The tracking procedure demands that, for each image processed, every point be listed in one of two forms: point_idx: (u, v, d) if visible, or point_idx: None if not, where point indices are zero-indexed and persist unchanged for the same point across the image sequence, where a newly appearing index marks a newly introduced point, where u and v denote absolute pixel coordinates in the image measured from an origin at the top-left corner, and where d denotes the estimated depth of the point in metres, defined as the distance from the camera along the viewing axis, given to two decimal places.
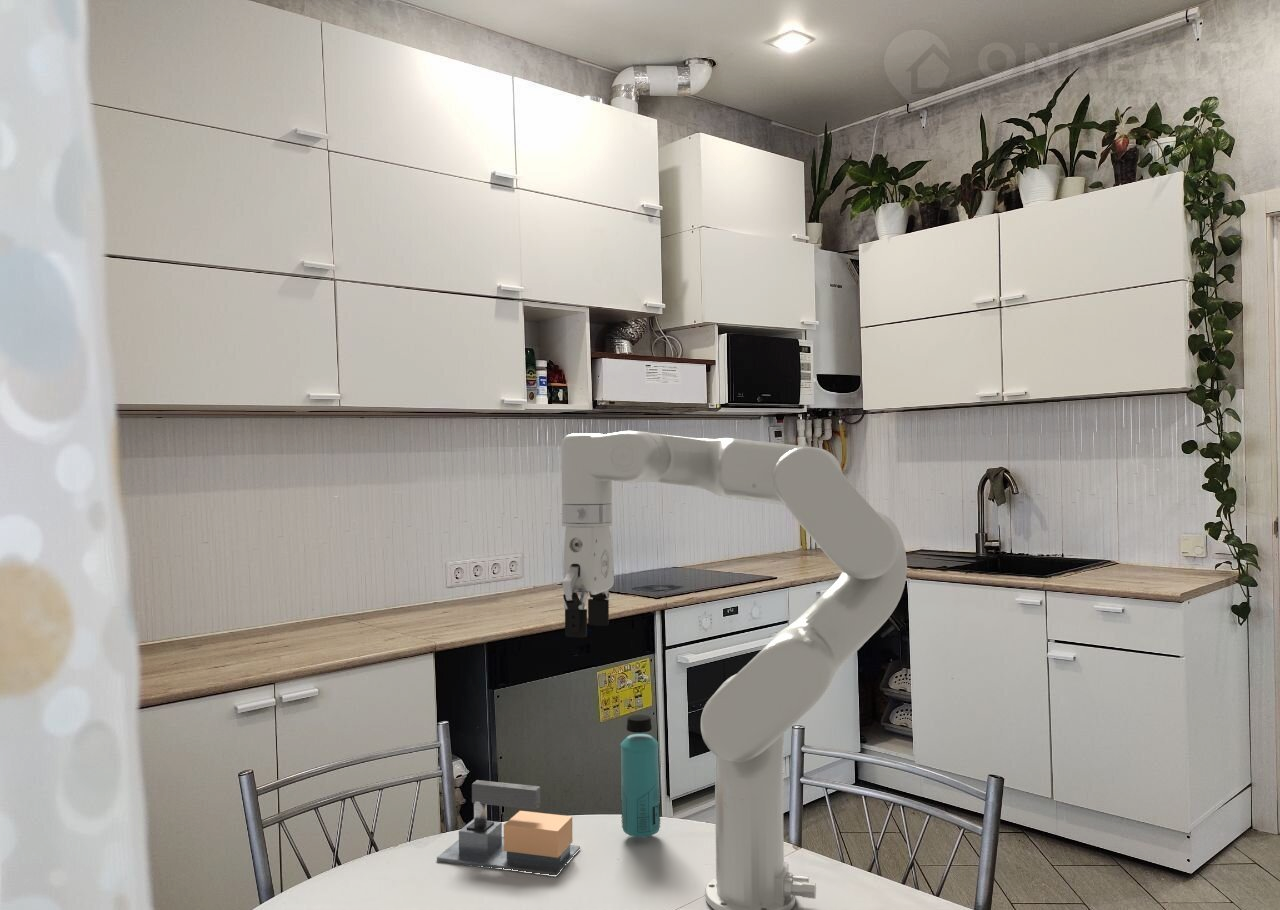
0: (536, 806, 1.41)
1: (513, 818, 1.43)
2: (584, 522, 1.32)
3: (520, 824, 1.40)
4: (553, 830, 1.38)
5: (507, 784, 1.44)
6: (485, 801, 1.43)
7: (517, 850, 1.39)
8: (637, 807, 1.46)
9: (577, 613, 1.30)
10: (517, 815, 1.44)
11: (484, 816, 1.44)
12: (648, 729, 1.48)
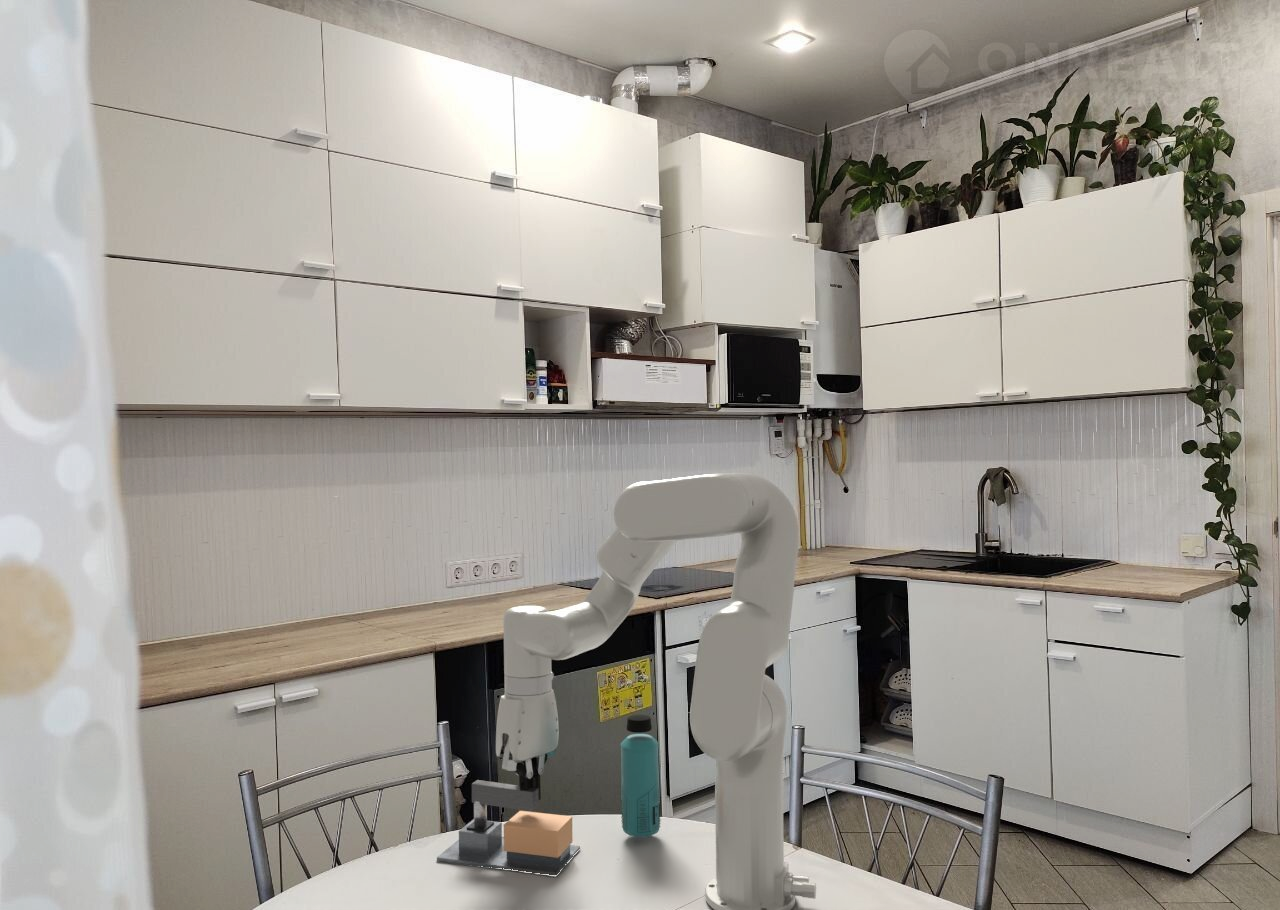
0: (533, 808, 1.40)
1: (513, 818, 1.43)
2: None
3: (520, 824, 1.40)
4: (553, 830, 1.38)
5: (506, 785, 1.43)
6: (484, 801, 1.43)
7: (517, 850, 1.39)
8: (637, 807, 1.46)
9: None
10: (517, 815, 1.44)
11: (484, 816, 1.44)
12: (648, 729, 1.48)
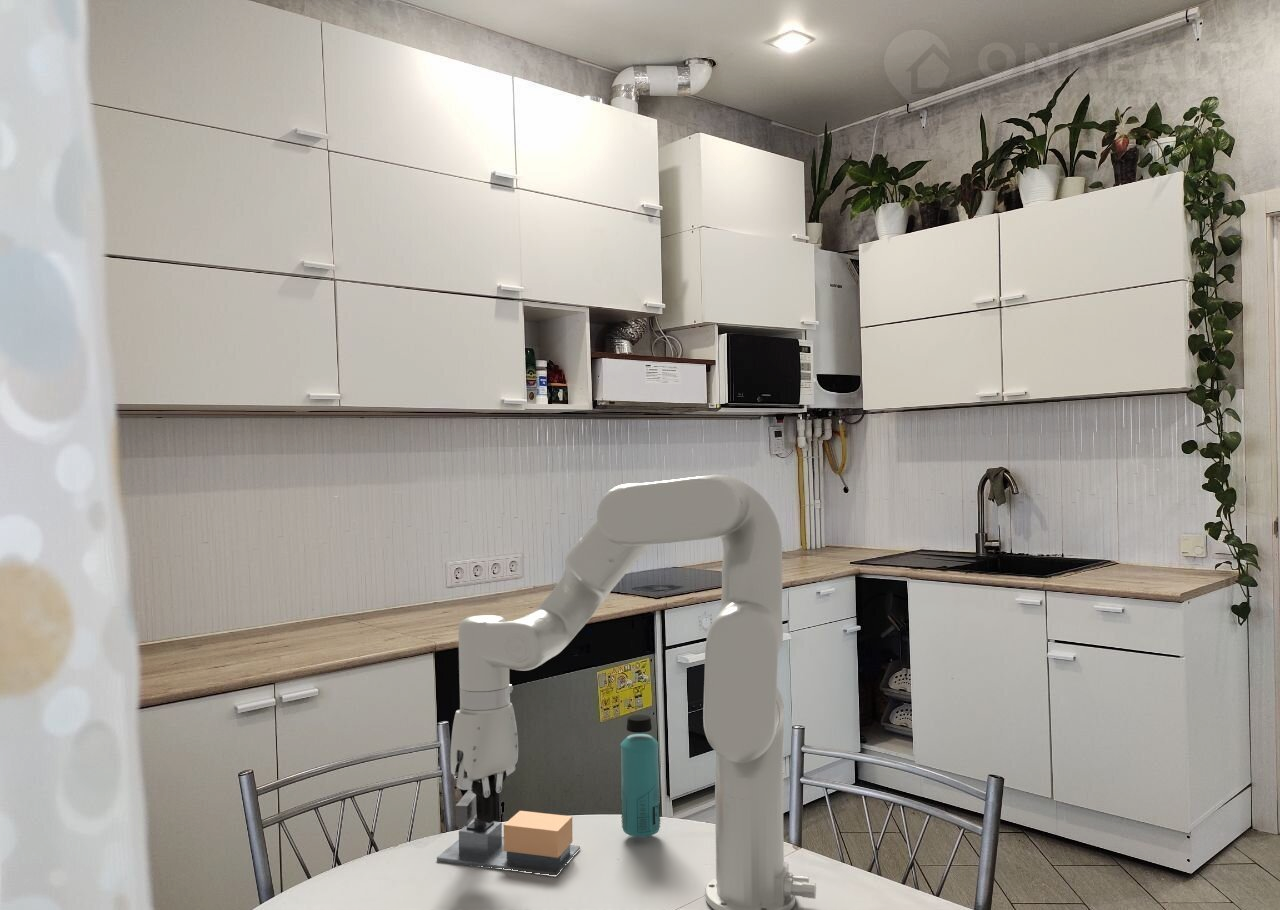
0: (456, 822, 1.35)
1: (513, 818, 1.43)
2: None
3: (520, 824, 1.40)
4: (553, 830, 1.38)
5: None
6: None
7: (517, 850, 1.39)
8: (637, 807, 1.46)
9: None
10: (517, 815, 1.44)
11: (476, 817, 1.44)
12: (648, 729, 1.48)
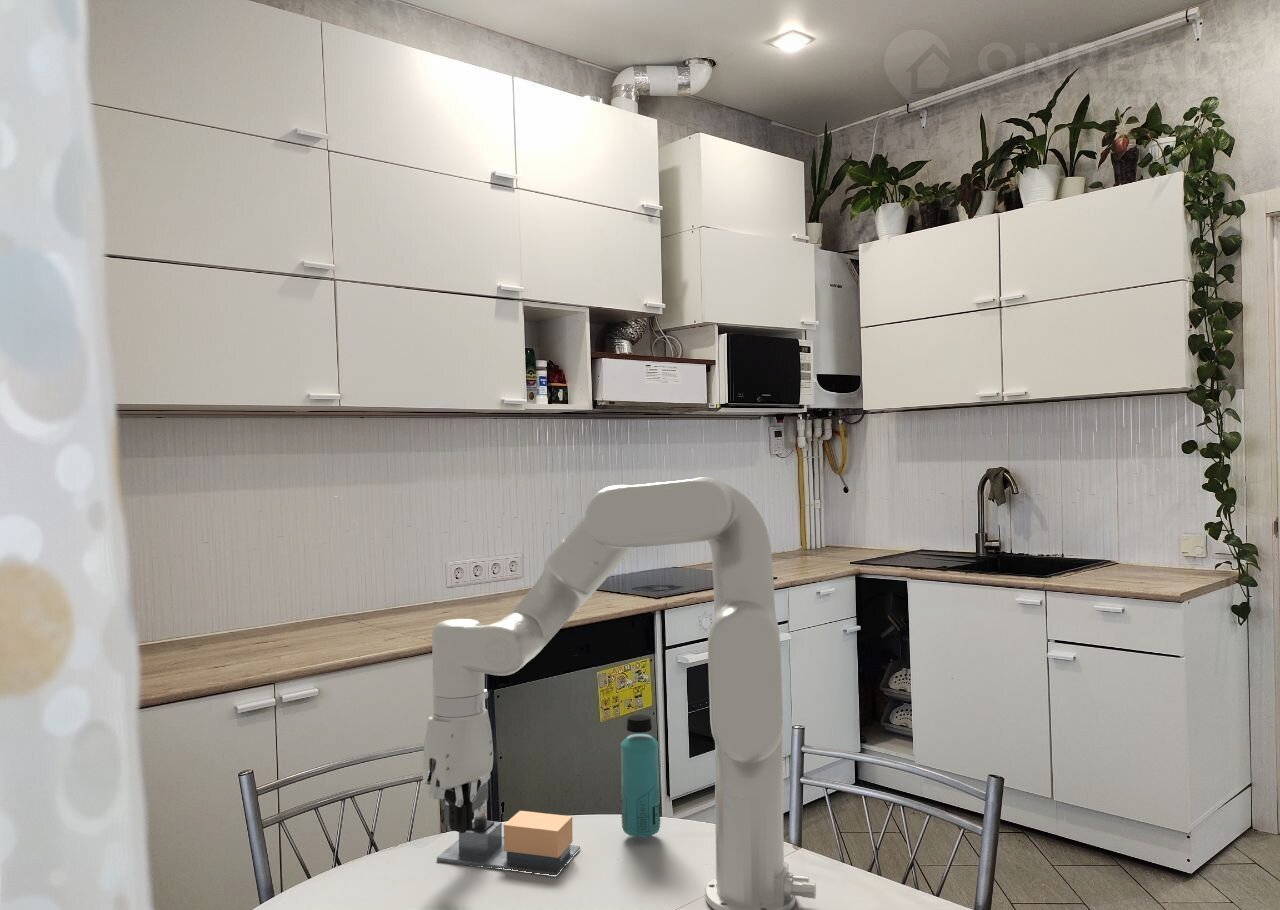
0: (445, 821, 1.35)
1: (513, 818, 1.43)
2: None
3: (520, 824, 1.40)
4: (553, 830, 1.38)
5: None
6: None
7: (517, 850, 1.39)
8: (637, 807, 1.46)
9: None
10: (517, 815, 1.44)
11: (475, 817, 1.44)
12: (648, 729, 1.48)
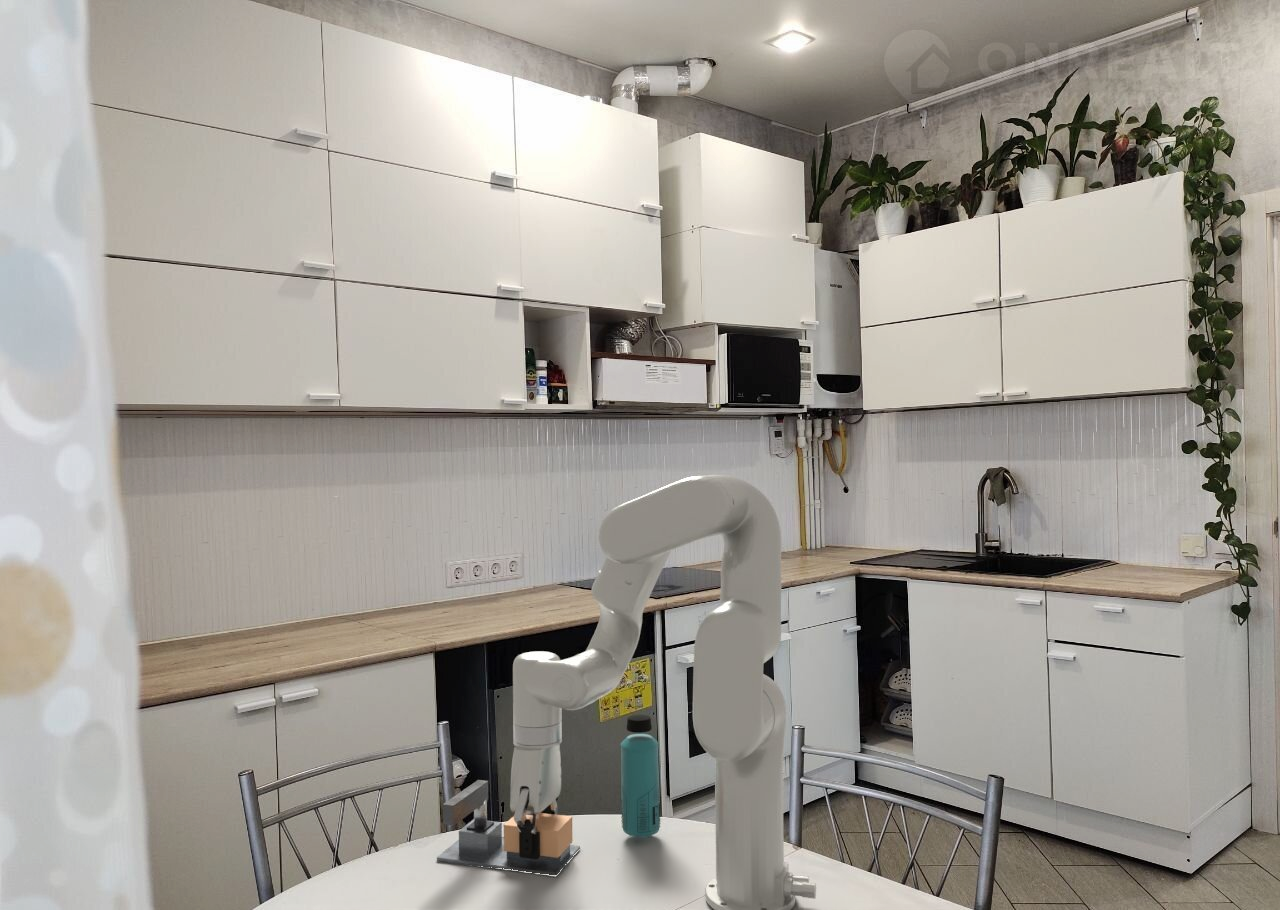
0: (443, 821, 1.35)
1: (513, 818, 1.43)
2: None
3: None
4: (553, 830, 1.38)
5: (467, 792, 1.40)
6: None
7: (517, 850, 1.39)
8: (637, 807, 1.46)
9: None
10: None
11: (475, 816, 1.44)
12: (648, 729, 1.48)
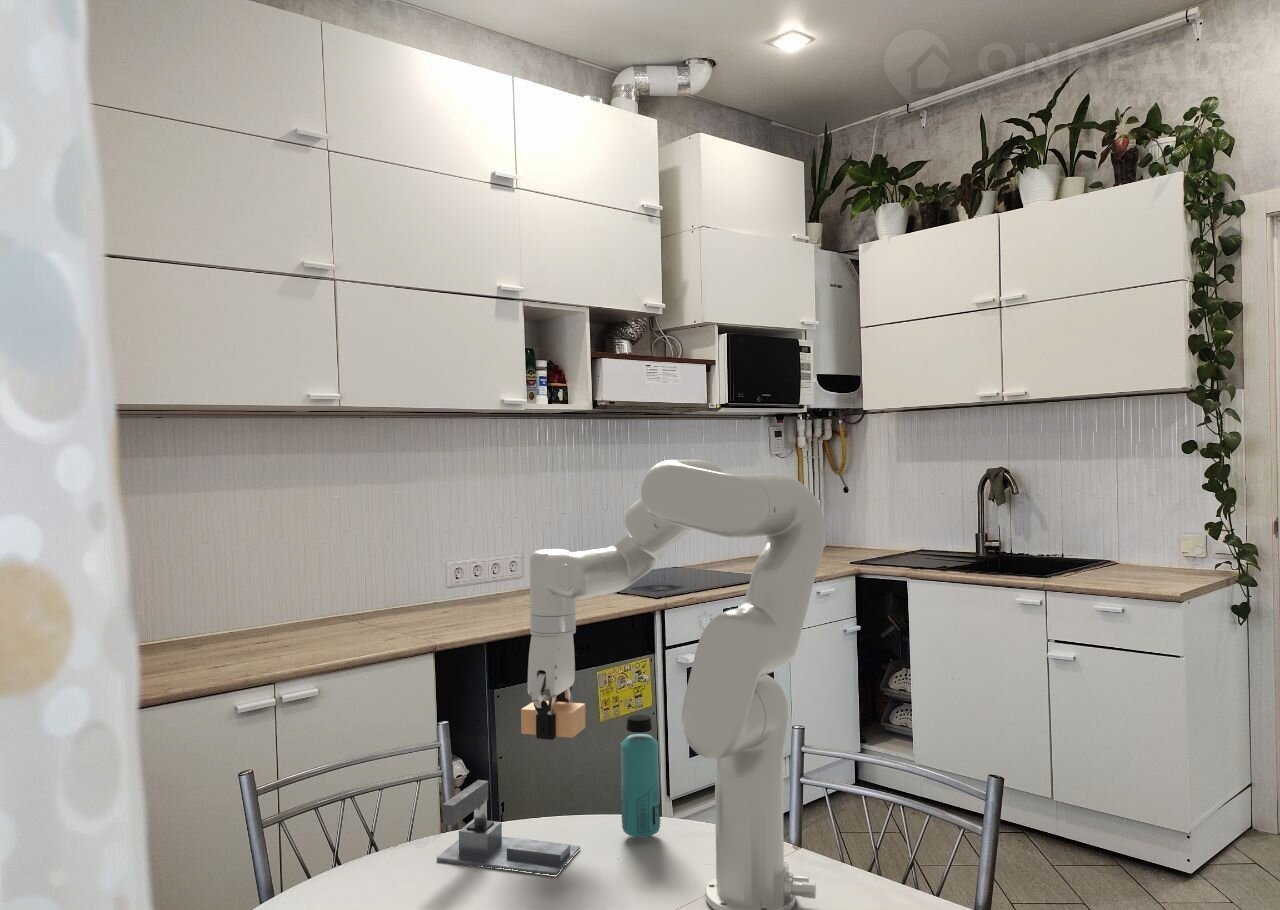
0: (443, 821, 1.35)
1: (530, 705, 1.52)
2: None
3: None
4: (568, 712, 1.47)
5: (467, 792, 1.40)
6: None
7: (534, 732, 1.49)
8: (637, 807, 1.46)
9: None
10: (533, 703, 1.53)
11: (475, 816, 1.44)
12: (648, 729, 1.48)
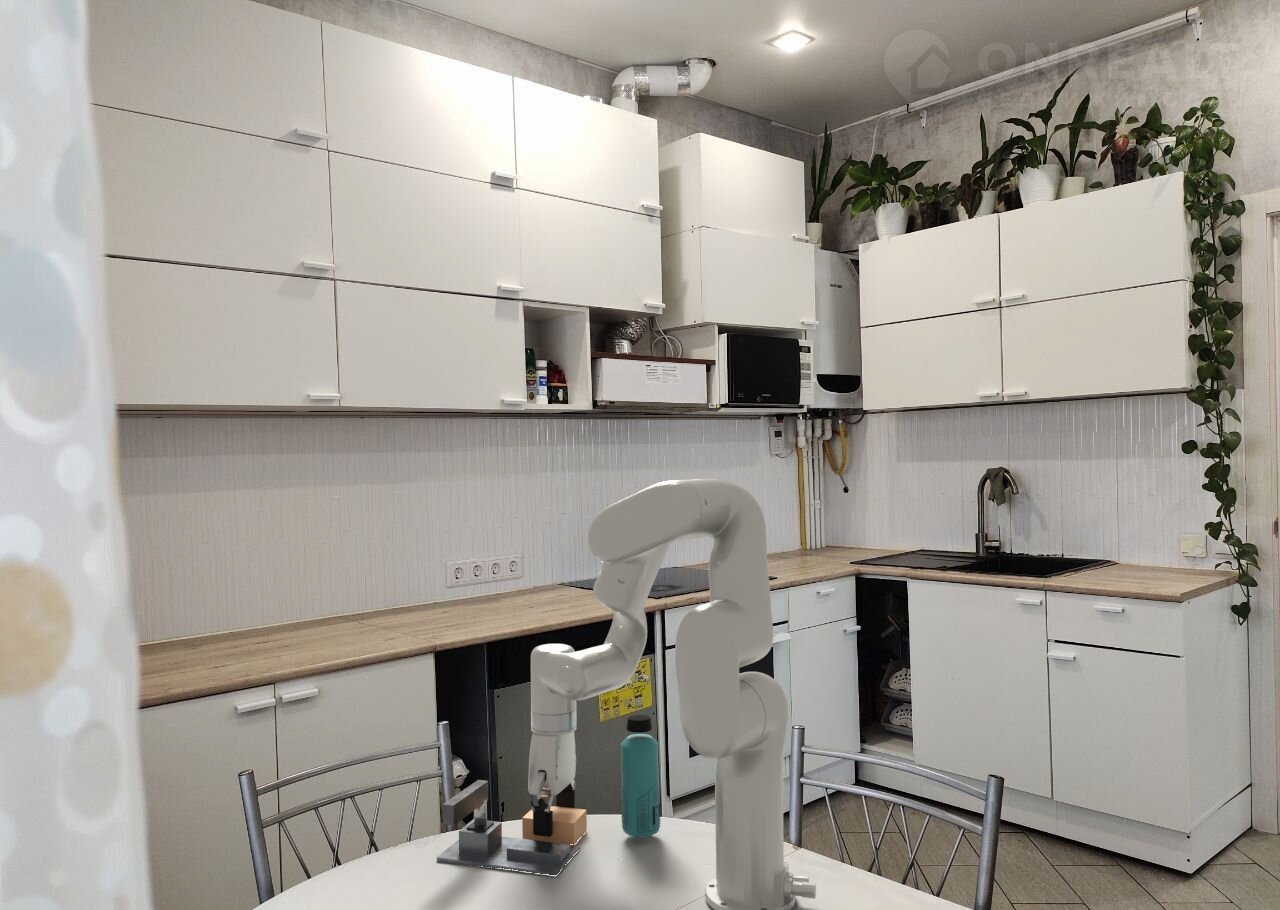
0: (443, 821, 1.35)
1: (531, 811, 1.51)
2: None
3: None
4: (569, 822, 1.47)
5: (467, 792, 1.40)
6: None
7: None
8: (637, 807, 1.46)
9: None
10: None
11: (475, 816, 1.44)
12: (648, 729, 1.48)
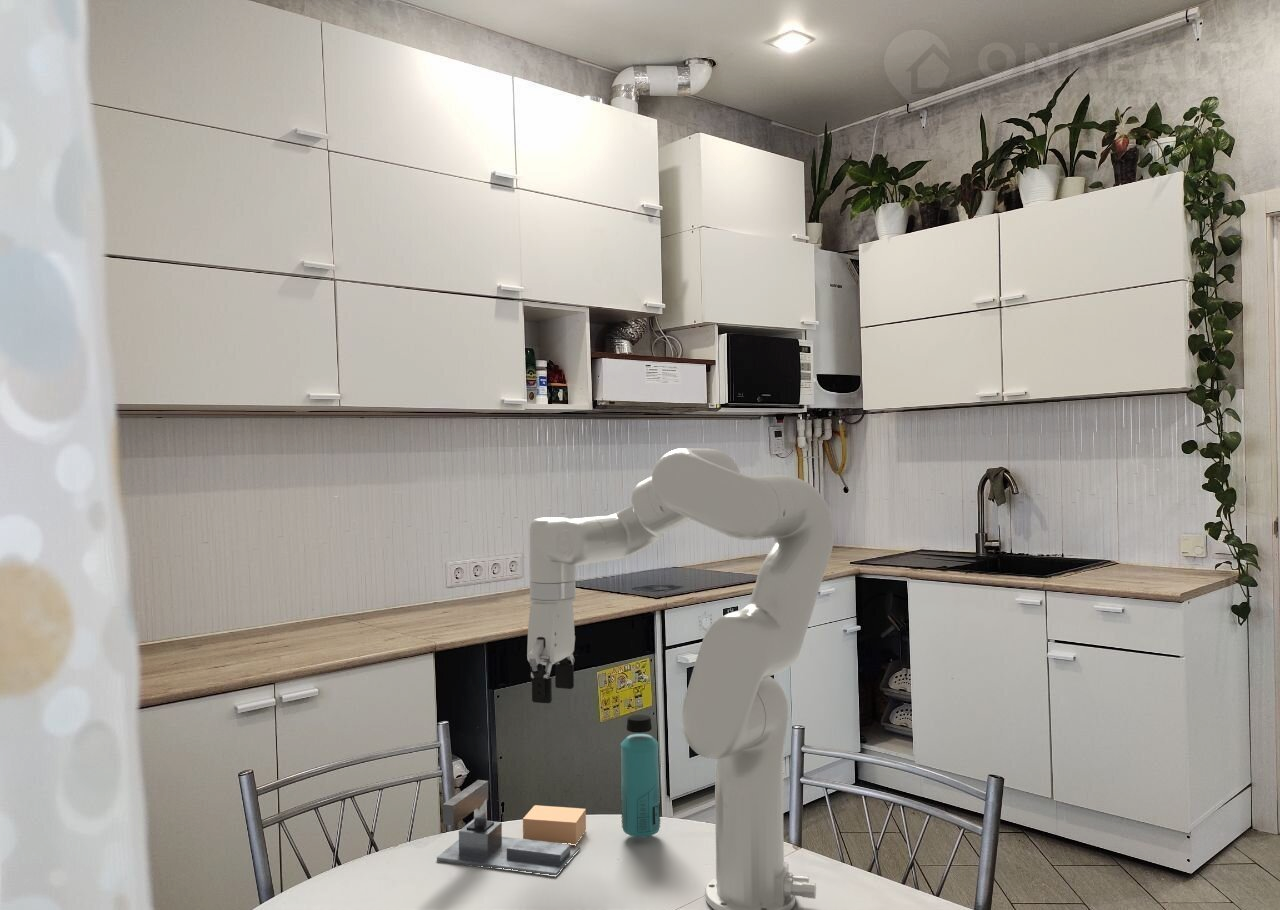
0: (443, 821, 1.35)
1: (530, 812, 1.51)
2: None
3: (539, 818, 1.49)
4: (571, 822, 1.47)
5: (467, 792, 1.40)
6: None
7: None
8: (637, 807, 1.46)
9: None
10: (533, 809, 1.52)
11: (475, 816, 1.44)
12: (648, 729, 1.48)
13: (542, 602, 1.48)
